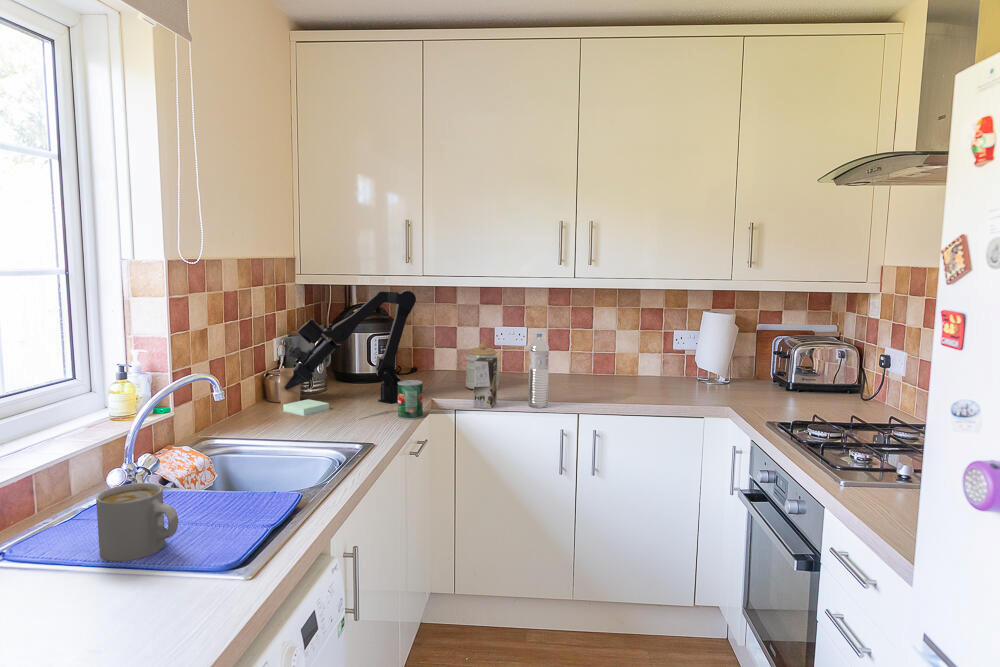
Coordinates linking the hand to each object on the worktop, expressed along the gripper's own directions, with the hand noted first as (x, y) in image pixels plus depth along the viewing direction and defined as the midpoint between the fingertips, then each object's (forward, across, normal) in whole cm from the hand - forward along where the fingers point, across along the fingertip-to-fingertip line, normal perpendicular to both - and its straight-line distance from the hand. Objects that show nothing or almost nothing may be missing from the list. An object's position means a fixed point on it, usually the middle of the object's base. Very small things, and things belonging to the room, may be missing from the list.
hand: (285, 386), depth 219 cm
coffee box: (-41, +14, +51) cm, 67 cm away
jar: (-46, -15, +56) cm, 74 cm away
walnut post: (+4, 0, +6) cm, 7 cm away
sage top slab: (-1, +12, +8) cm, 15 cm away
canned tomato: (-22, +23, +32) cm, 45 cm away
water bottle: (-54, +19, +63) cm, 85 cm away
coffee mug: (+20, +106, -10) cm, 108 cm away
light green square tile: (+1, +13, +10) cm, 16 cm away
